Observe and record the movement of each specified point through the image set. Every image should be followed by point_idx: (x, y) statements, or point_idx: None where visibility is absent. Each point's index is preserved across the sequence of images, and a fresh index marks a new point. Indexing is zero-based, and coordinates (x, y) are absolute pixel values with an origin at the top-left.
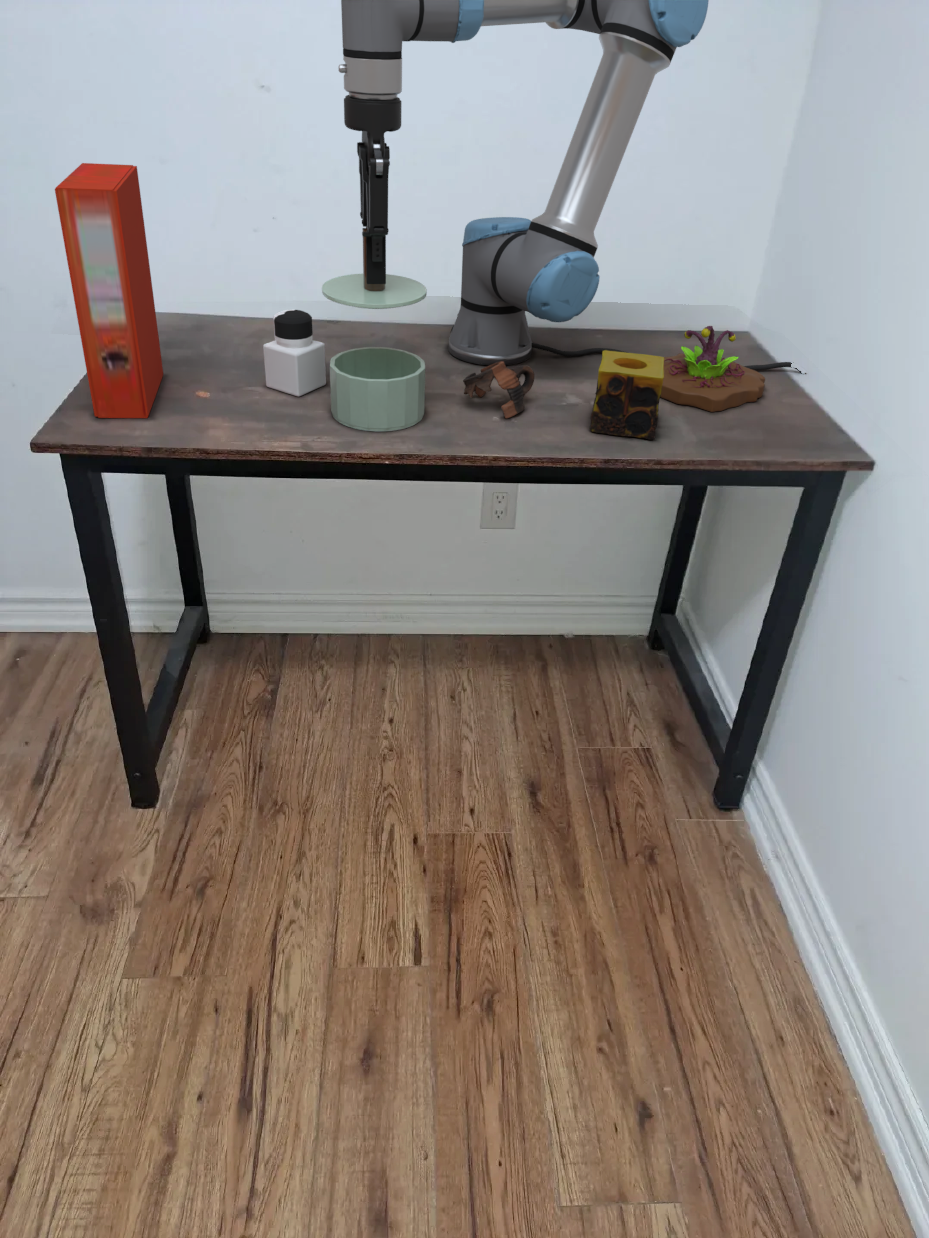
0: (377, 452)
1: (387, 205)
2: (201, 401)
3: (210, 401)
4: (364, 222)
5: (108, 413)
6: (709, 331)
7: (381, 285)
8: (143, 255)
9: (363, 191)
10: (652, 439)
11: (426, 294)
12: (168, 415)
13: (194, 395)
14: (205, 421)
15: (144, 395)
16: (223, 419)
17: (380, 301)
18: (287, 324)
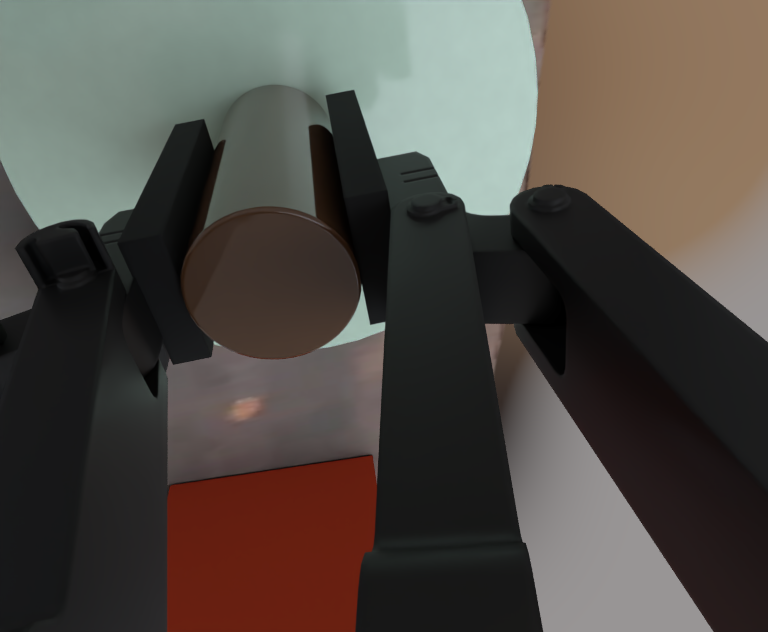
0: (541, 5)
1: (730, 319)
2: (282, 403)
3: (279, 390)
4: (163, 379)
5: None
6: None
7: (319, 111)
8: None
9: (164, 594)
10: None
11: None
12: (355, 432)
13: (254, 420)
14: (377, 377)
15: (376, 487)
16: (365, 352)
17: (496, 98)
18: (166, 361)
